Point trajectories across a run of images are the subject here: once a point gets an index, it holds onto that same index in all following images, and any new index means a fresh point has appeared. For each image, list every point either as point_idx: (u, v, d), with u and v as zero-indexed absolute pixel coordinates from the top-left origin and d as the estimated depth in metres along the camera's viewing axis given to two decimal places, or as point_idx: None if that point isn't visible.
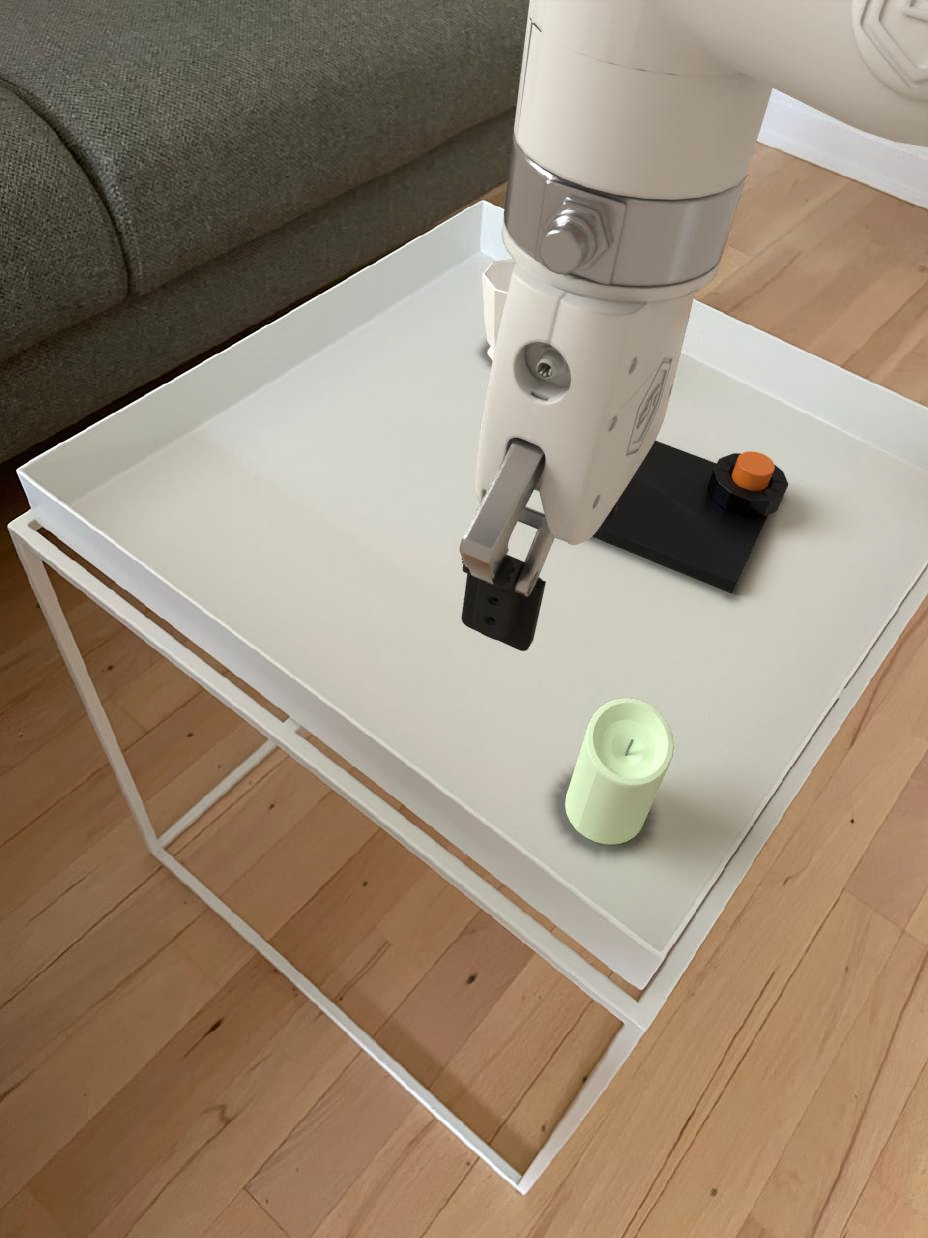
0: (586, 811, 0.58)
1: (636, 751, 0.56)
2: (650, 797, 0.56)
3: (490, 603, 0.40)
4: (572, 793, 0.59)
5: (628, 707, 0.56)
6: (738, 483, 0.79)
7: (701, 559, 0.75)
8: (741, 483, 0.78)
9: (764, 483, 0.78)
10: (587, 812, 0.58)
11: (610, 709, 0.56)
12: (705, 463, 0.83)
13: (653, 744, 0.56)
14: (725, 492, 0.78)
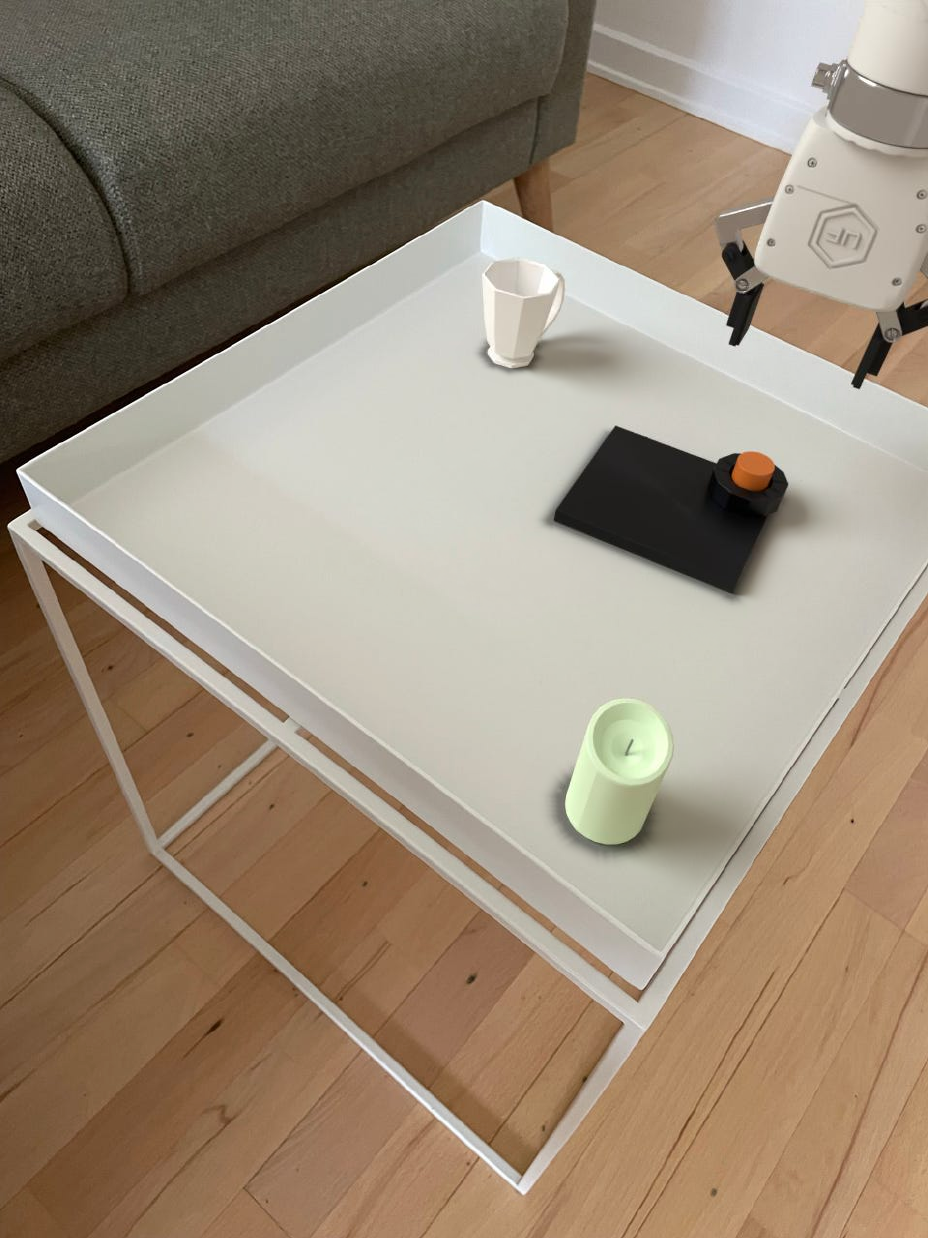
0: (586, 811, 0.58)
1: (636, 751, 0.56)
2: (650, 797, 0.56)
3: None
4: (572, 793, 0.59)
5: (628, 707, 0.56)
6: (738, 483, 0.79)
7: (701, 559, 0.75)
8: (741, 483, 0.78)
9: (764, 483, 0.78)
10: (587, 812, 0.58)
11: (610, 709, 0.56)
12: (705, 463, 0.83)
13: (653, 744, 0.56)
14: (725, 492, 0.78)
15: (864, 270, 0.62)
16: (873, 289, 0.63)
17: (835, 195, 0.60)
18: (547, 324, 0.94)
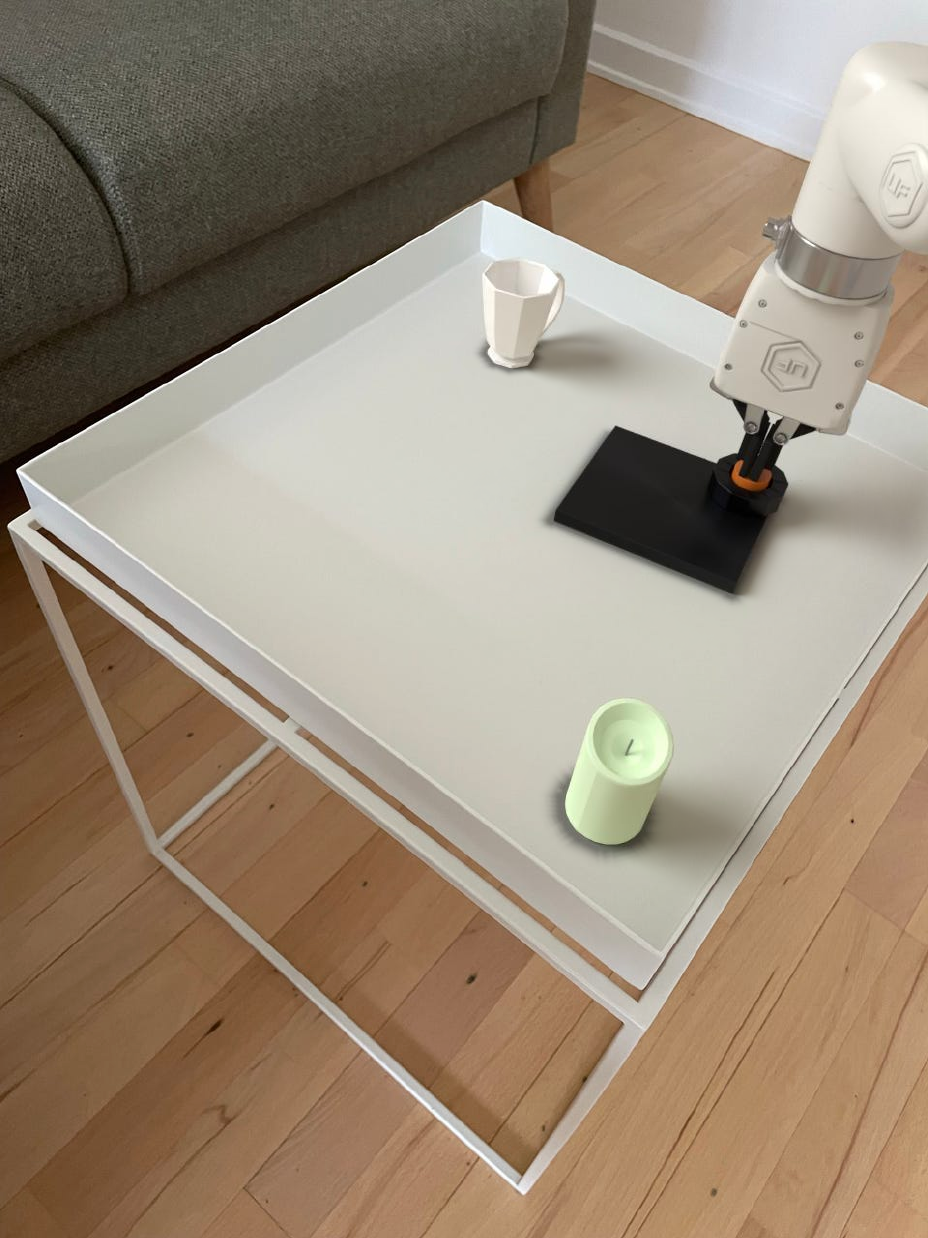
0: (586, 811, 0.58)
1: (636, 751, 0.56)
2: (650, 797, 0.56)
3: None
4: (572, 793, 0.59)
5: (628, 707, 0.56)
6: None
7: (701, 559, 0.75)
8: None
9: (761, 490, 0.79)
10: (587, 812, 0.58)
11: (610, 709, 0.56)
12: (705, 463, 0.83)
13: (653, 744, 0.56)
14: (725, 492, 0.78)
15: (810, 395, 0.69)
16: (819, 411, 0.70)
17: (783, 332, 0.67)
18: (547, 324, 0.94)
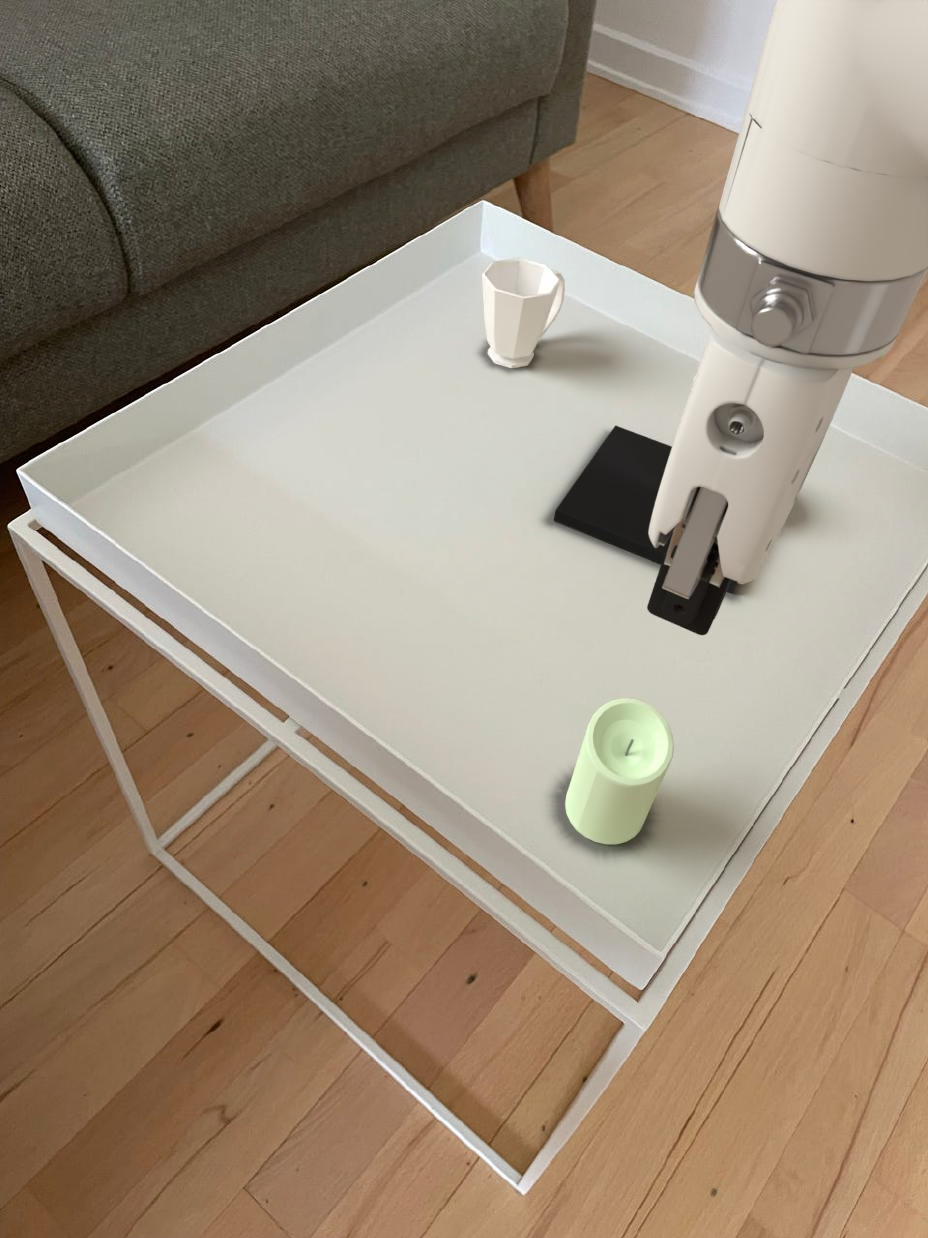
0: (586, 811, 0.58)
1: (636, 751, 0.56)
2: (650, 797, 0.56)
3: None
4: (572, 793, 0.59)
5: (628, 707, 0.56)
6: None
7: None
8: None
9: None
10: (587, 812, 0.58)
11: (610, 709, 0.56)
12: None
13: (653, 744, 0.56)
14: None
15: None
16: None
17: (826, 428, 0.37)
18: (547, 324, 0.94)
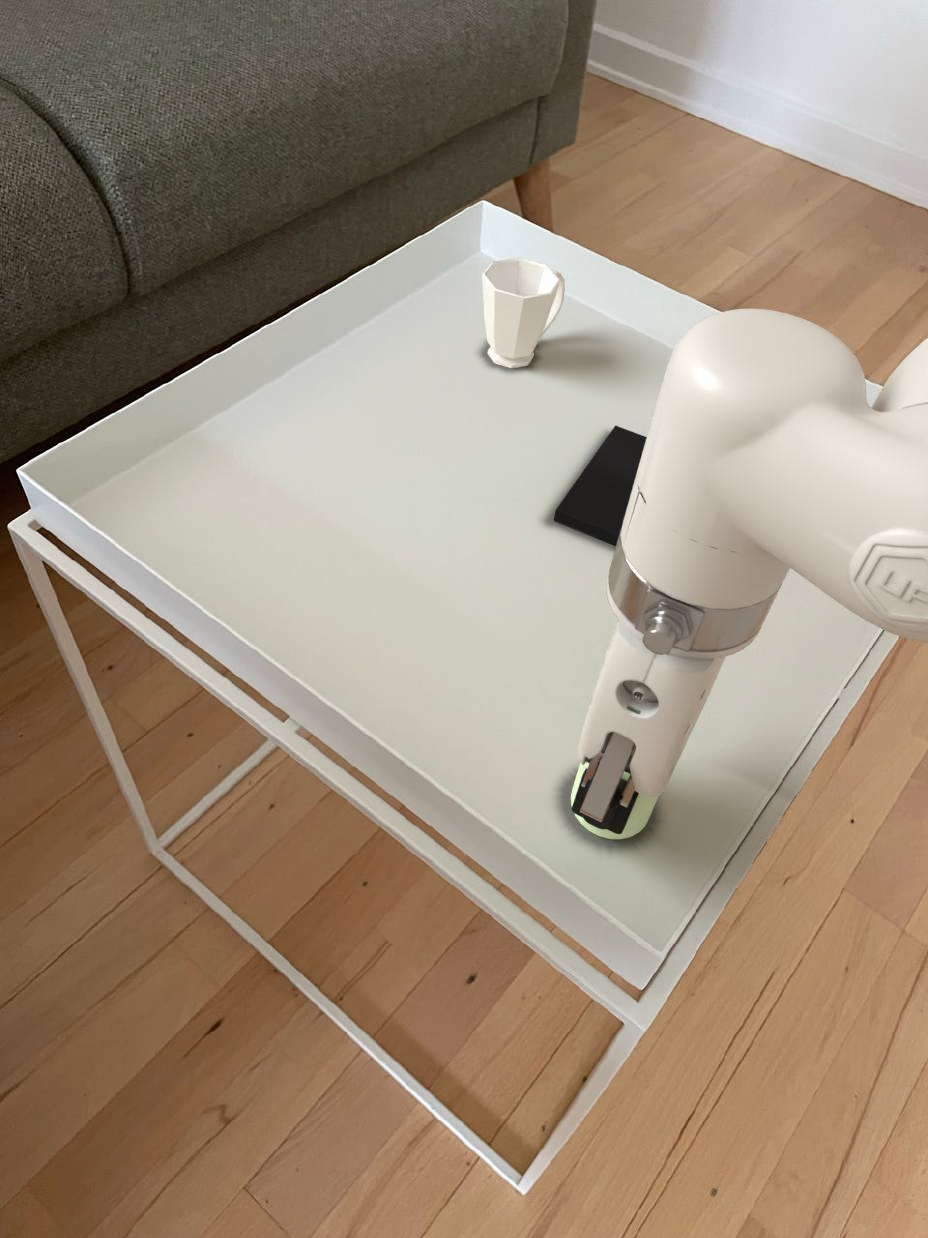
0: None
1: None
2: None
3: None
4: (577, 787, 0.59)
5: None
6: None
7: None
8: None
9: None
10: None
11: None
12: None
13: None
14: None
15: None
16: None
17: (712, 684, 0.47)
18: (547, 324, 0.94)
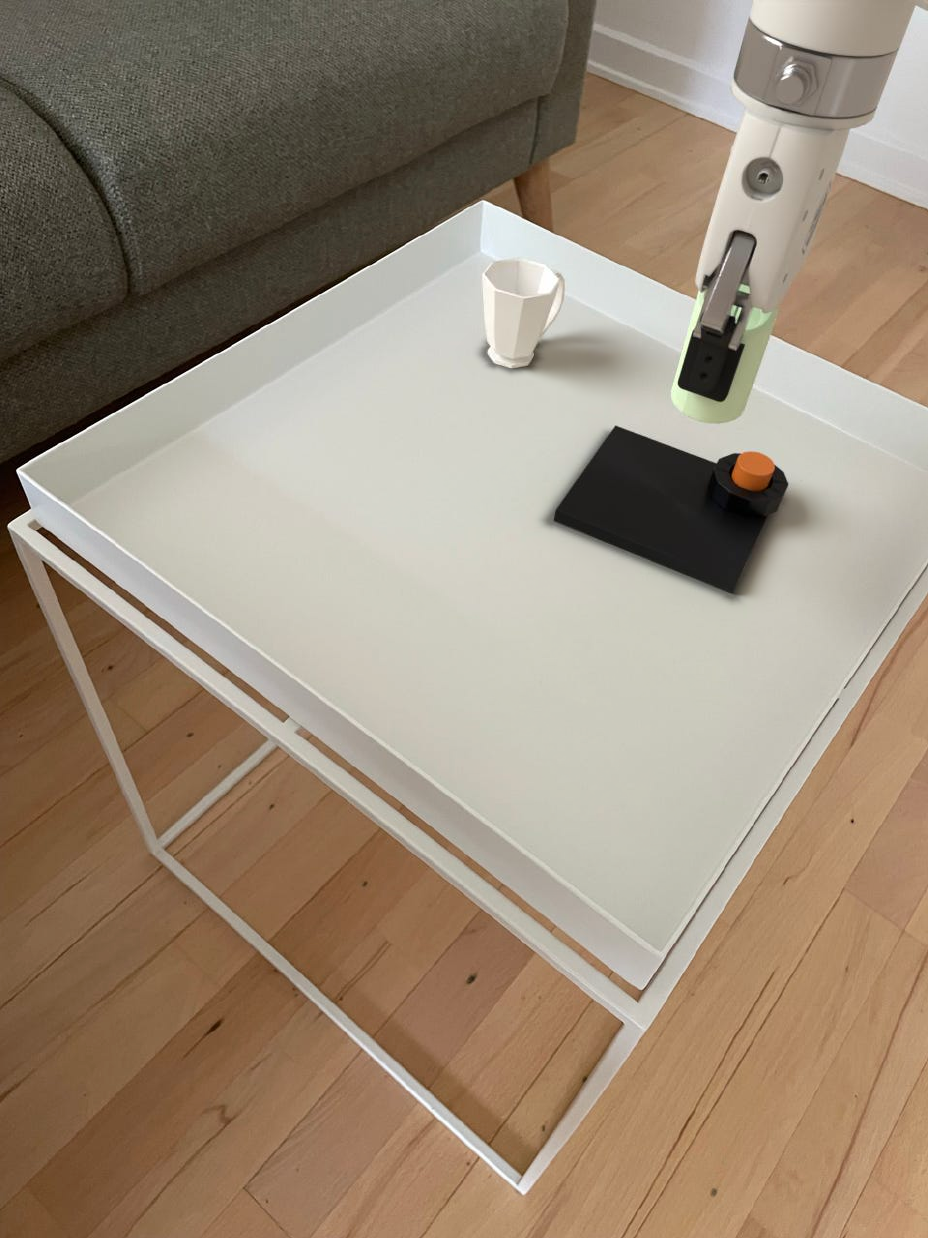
0: None
1: None
2: (754, 359, 0.61)
3: (706, 361, 0.60)
4: (679, 372, 0.64)
5: None
6: (738, 483, 0.79)
7: (701, 559, 0.75)
8: (741, 483, 0.78)
9: (764, 483, 0.78)
10: None
11: None
12: (705, 463, 0.83)
13: (758, 310, 0.61)
14: (725, 492, 0.78)
15: (814, 231, 0.57)
16: (812, 241, 0.58)
17: (825, 186, 0.52)
18: (547, 324, 0.94)
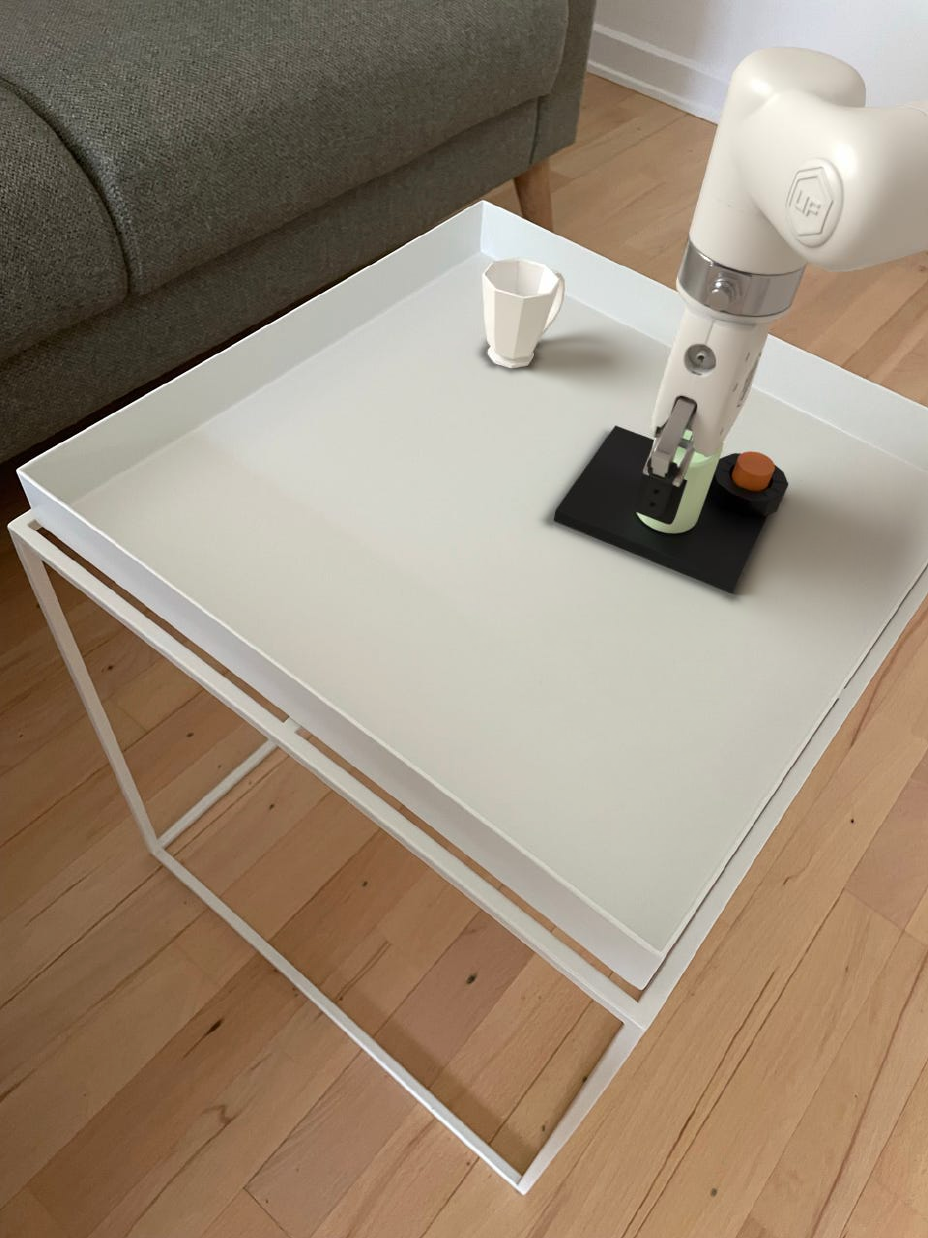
0: None
1: None
2: (704, 484, 0.73)
3: (654, 493, 0.69)
4: None
5: None
6: (738, 483, 0.79)
7: (701, 559, 0.75)
8: (741, 483, 0.78)
9: (764, 483, 0.78)
10: None
11: None
12: None
13: None
14: (725, 492, 0.78)
15: (749, 385, 0.69)
16: (748, 390, 0.71)
17: (753, 360, 0.64)
18: (547, 324, 0.94)
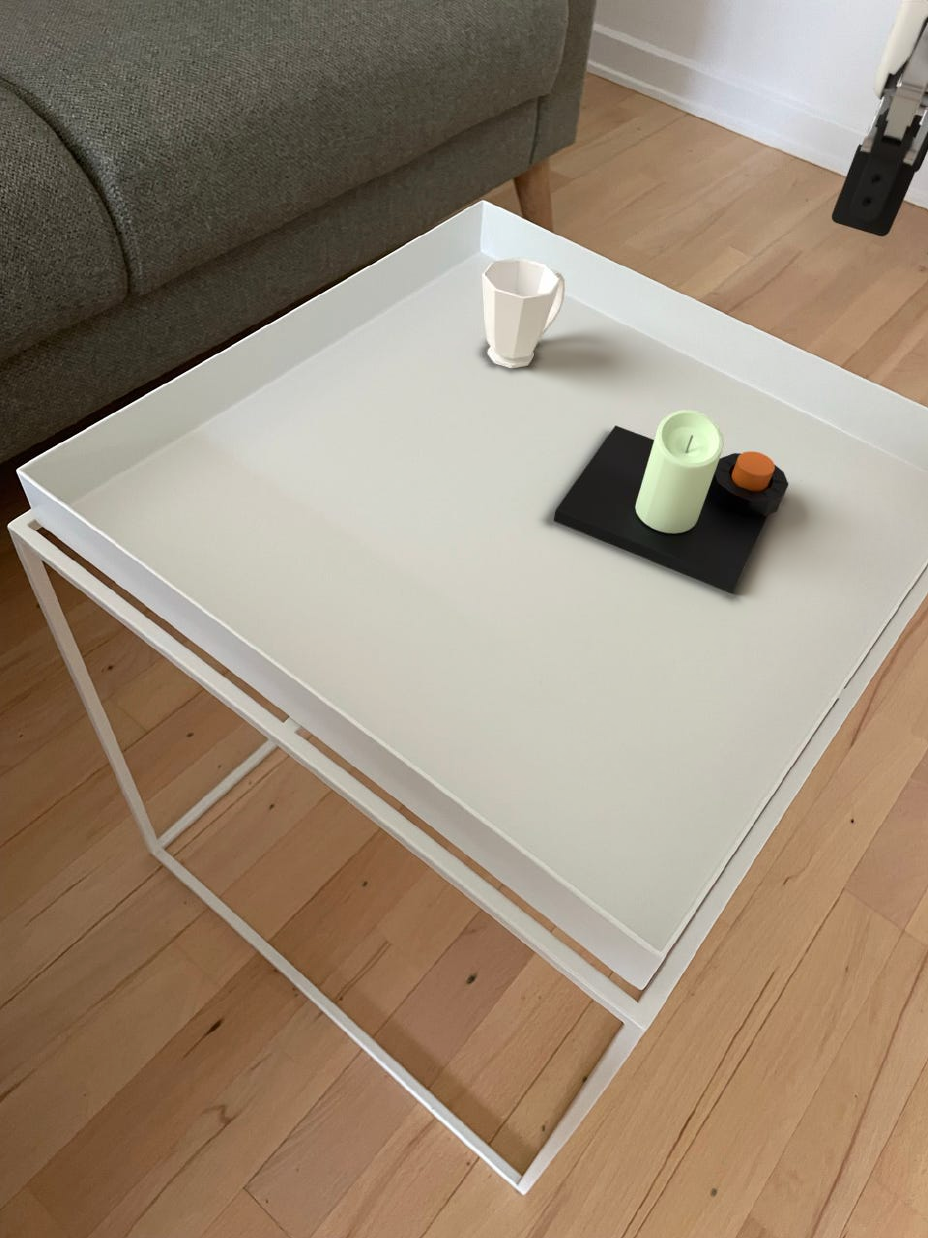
0: (653, 501, 0.75)
1: (694, 449, 0.73)
2: (704, 484, 0.73)
3: (872, 182, 0.51)
4: (642, 490, 0.76)
5: (689, 416, 0.73)
6: (738, 483, 0.79)
7: (701, 559, 0.75)
8: (741, 483, 0.78)
9: (764, 483, 0.78)
10: (654, 501, 0.75)
11: (675, 416, 0.73)
12: None
13: (707, 444, 0.73)
14: (725, 492, 0.78)
15: None
16: None
17: None
18: (547, 324, 0.94)
